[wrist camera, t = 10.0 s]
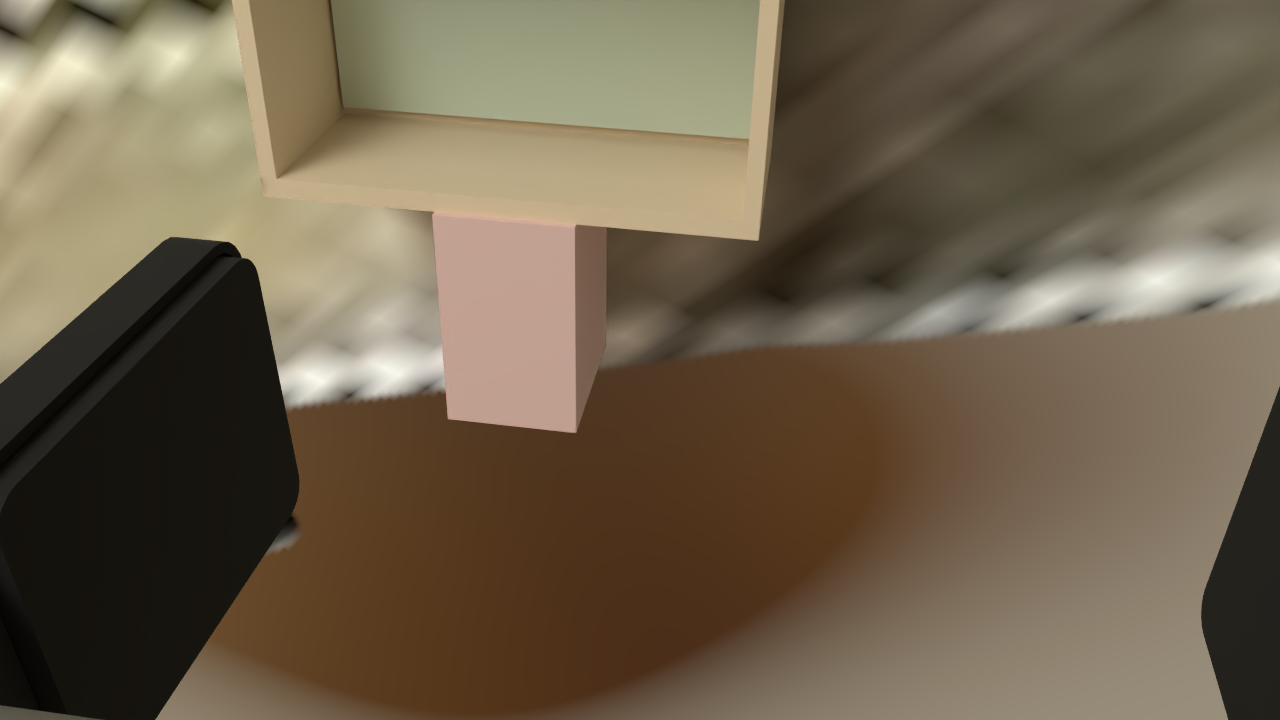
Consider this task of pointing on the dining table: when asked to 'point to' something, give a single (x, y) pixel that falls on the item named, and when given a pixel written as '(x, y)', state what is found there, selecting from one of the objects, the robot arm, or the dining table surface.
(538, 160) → the tray
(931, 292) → the dining table surface
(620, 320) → the dining table surface
